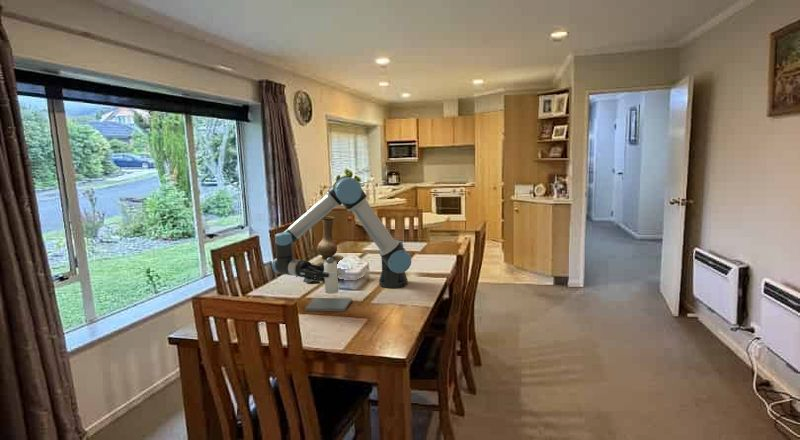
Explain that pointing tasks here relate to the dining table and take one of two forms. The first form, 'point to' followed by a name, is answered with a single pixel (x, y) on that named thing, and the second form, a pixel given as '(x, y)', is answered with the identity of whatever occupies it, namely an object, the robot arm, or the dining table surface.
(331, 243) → the vase
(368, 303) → the dining table surface
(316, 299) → the slate board
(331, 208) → the robot arm
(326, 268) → the white bottle
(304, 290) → the dining table surface
